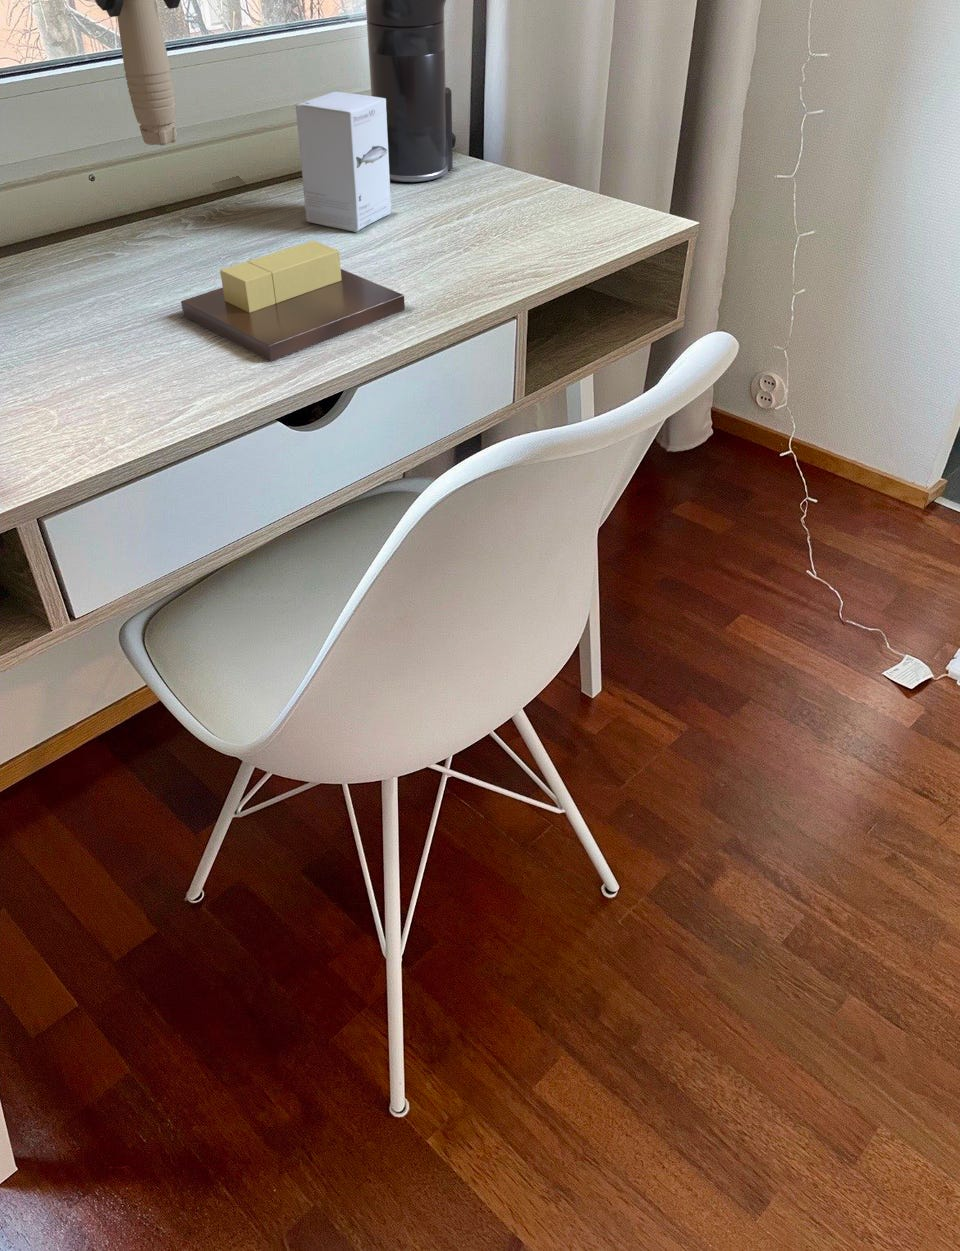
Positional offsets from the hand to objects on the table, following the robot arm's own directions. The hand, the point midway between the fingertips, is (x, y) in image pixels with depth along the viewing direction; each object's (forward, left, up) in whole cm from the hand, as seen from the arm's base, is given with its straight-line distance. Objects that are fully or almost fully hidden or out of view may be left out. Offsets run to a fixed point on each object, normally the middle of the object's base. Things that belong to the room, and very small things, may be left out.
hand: (147, 4), depth 87 cm
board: (-4, +10, -25) cm, 27 cm away
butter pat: (-1, +8, -24) cm, 25 cm away
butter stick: (-6, +8, -24) cm, 26 cm away
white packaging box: (-25, -7, -25) cm, 37 cm away
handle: (0, -2, -11) cm, 12 cm away
